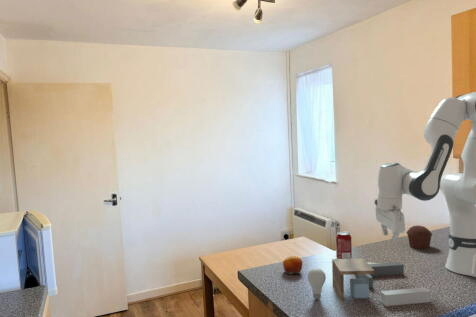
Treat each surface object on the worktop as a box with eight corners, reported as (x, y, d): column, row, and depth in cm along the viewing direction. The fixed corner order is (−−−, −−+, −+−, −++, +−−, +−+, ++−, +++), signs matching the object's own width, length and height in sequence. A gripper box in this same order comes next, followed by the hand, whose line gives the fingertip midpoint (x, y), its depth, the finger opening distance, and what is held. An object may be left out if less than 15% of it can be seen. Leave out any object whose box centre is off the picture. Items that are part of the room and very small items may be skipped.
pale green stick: (383, 267, 153) (383, 263, 153) (383, 269, 151) (383, 265, 151) (349, 264, 158) (349, 260, 158) (348, 266, 156) (348, 262, 155)
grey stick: (424, 298, 123) (424, 287, 122) (430, 302, 120) (430, 291, 119) (380, 302, 121) (380, 291, 121) (385, 306, 118) (385, 295, 118)
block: (364, 291, 129) (364, 278, 129) (368, 298, 124) (368, 284, 124) (350, 292, 129) (350, 278, 129) (354, 298, 124) (354, 284, 124)
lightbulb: (312, 294, 128) (311, 264, 128) (328, 298, 125) (328, 267, 124) (305, 301, 123) (304, 269, 123) (322, 305, 120) (321, 273, 119)
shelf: (363, 285, 134) (363, 258, 134) (374, 299, 123) (374, 270, 122) (332, 285, 135) (332, 259, 134) (341, 300, 123) (340, 271, 122)
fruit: (289, 275, 142) (285, 255, 146) (283, 279, 149) (279, 259, 153) (308, 273, 144) (303, 253, 148) (301, 276, 151) (297, 257, 155)
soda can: (352, 261, 159) (352, 235, 159) (336, 261, 161) (336, 234, 160) (350, 256, 166) (350, 231, 165) (335, 256, 167) (335, 230, 167)
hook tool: (399, 271, 147) (399, 262, 146) (418, 284, 134) (418, 274, 133) (354, 274, 145) (354, 265, 145) (369, 288, 132) (369, 277, 132)
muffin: (436, 250, 171) (436, 229, 170) (412, 250, 172) (412, 229, 171) (425, 242, 183) (425, 223, 182) (403, 242, 184) (403, 223, 183)
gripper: (409, 209, 132) (409, 245, 133) (387, 199, 152) (387, 231, 153) (392, 209, 132) (392, 246, 133) (372, 199, 152) (372, 231, 153)
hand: (389, 238), depth 143 cm, fingers open, 8 cm apart
